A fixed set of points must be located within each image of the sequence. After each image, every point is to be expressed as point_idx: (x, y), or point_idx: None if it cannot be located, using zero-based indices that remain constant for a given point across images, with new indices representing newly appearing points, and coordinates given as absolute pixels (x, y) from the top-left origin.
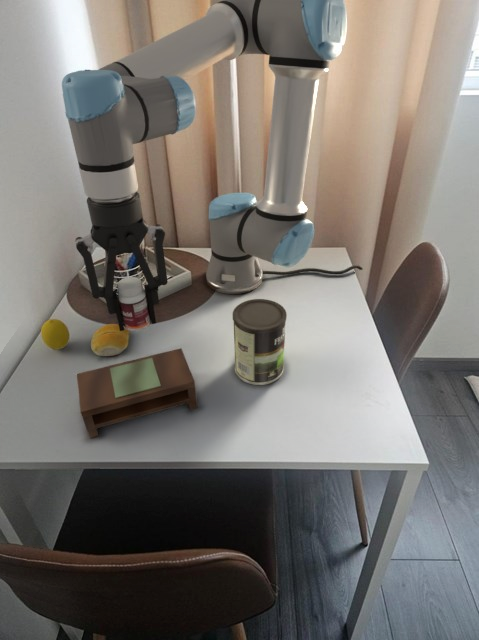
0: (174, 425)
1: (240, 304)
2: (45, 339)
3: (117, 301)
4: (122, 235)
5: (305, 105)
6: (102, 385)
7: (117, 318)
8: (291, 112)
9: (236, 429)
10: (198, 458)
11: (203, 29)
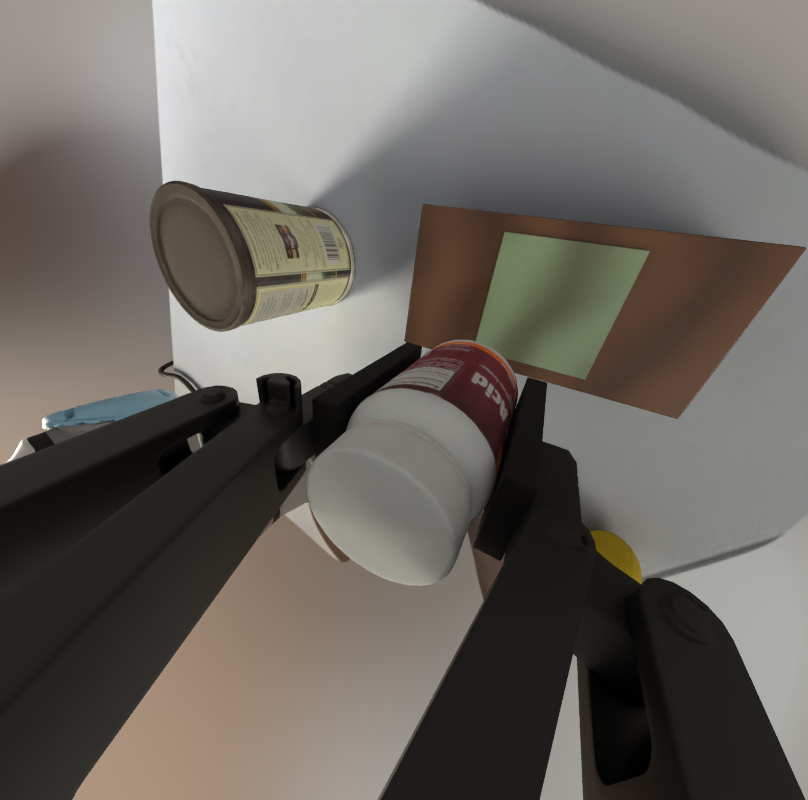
0: (520, 185)
1: (227, 326)
2: (639, 569)
3: (512, 466)
4: None
5: None
6: (645, 330)
7: (543, 412)
8: None
9: (411, 99)
10: (529, 26)
11: None
